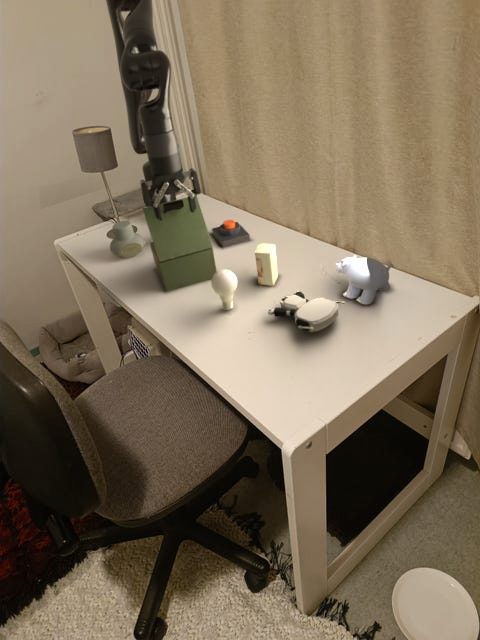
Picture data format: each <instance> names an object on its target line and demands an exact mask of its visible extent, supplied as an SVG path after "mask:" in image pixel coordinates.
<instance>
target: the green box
mask: <svg viewBox="0 0 480 640" xmlns="http://www.w3.org/2000/svg"><path fill="white" fill-rule="evenodd" d="M149 245H150V250H151V253H152V257H153V261H154V264H155V268H156V271H157V273H158V275H159V278H160V280H161V282H162V285H163V286H164V288H165V290H166V292H170V291H174V290H177V289H181V288H184V287H188V286H191V285H194V284H198V283H201V282H205V281H207V280H212V277H213V275H214V274H215V273H216V272H217V271H218V270H217V266H216V265H217V264H216V259H215V253H214V249H213V247H212V248H209V249H206V250H202V251H198V252H195V253H191V254H188V255H184V256H180V257H177V258H173V259H169V260H166V261H162V262H159V260H158V256H157V253H156V250H155V247H154V244H153V241H150V242H149Z"/></svg>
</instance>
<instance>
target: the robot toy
mask: <svg viewBox="0 0 480 640" xmlns="http://www.w3.org/2000/svg"><path fill="white" fill-rule="evenodd" d="M279 304H280V307H275V308H269V309H268V310H267V314H268V315H269V316H271V315H274V317H275V318H276V317H277V318H282V317H284V316H288V317H293V318H294V322H295V323H294V324H295V325H296V327H297V328H298V329H300V330H303V331H307V332H310V333H312V332H319V331H321V330H323V329H325V328H327V327H328V326H330V325H331V324H333V323H334V322H335V321H336V319H338V316H339V304H342V305H344V304H346V302H345V301H337V300H336V301H335V300H333V299H329V298H326V297H322V296H321V297H315V298H313V299H311V300H309V299H308V298H306V297H305V294H304V293H303V292H302V291H301V290H296V291H293V292H292V295H286V296H284V297H282V298H281V299H280V300H279Z"/></svg>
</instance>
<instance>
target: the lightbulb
mask: <svg viewBox="0 0 480 640" xmlns="http://www.w3.org/2000/svg"><path fill="white" fill-rule="evenodd" d="M216 271H217V272H216V273H215V274H214V275H213V277H212V279H210V280H211V282H210V283H211V288H212V290H213V291H214V293H215V294H216V295H218V297H219V299H220V301H221V304H222V309H224V310H227V311H229V310H232V309H233V308H234V301H233V300H234V294H235V292H236V290H237V287H238V277H237V276H236V274H235V273H234V271H231V270H229V269H226V268H224V269H223V268H222V269H219V270H216Z"/></svg>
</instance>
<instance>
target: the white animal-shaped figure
mask: <svg viewBox="0 0 480 640" xmlns="http://www.w3.org/2000/svg"><path fill="white" fill-rule="evenodd" d="M392 267H394V264H393V263H392V264H390V265H388V266H386V265H385V264H384V263H383V262H381V261H380V260H377V259H375V258H370V257H358V258H357V255H355V254H354V255H353V256H352V257H350V256H347V257H344V259H341V261H340V262H339V263H338V262H336V263H335V266H334V268H335V269H336V270H335V272H336V273H337V274H344V275H346V277H347V280H348V281H349V285H348V287H347V290H346V291H345V292H343V294H342V296H343V297H345V298H347V299H351V300H353V299H354V300H355V299H356V300H355V301H356V302H358V303H360V304H362V305H364V306H365V305H366V306H367V305H371V304H372V303H373V302H374V300H375V296H376V293H377V291H381V292H385V291H389V290H390V288H391V286H390V285H391V284H390V283H389V281H390V272H389V271H390V269H391V268H392ZM361 290H362V293H361ZM360 293H361V295H360Z"/></svg>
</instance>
